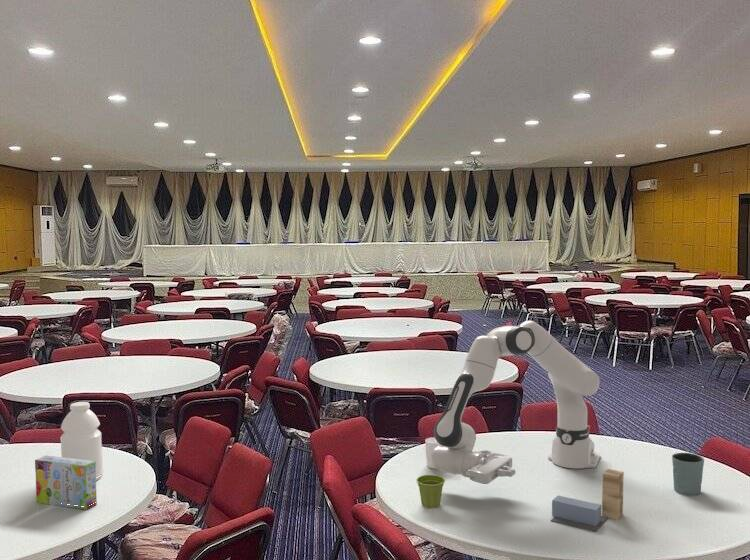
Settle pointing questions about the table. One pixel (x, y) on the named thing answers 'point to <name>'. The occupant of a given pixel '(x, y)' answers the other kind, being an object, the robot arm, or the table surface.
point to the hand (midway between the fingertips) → (513, 473)
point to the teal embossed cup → (687, 473)
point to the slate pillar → (576, 510)
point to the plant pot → (430, 490)
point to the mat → (579, 524)
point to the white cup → (430, 450)
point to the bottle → (82, 436)
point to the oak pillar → (612, 494)
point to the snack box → (66, 482)
